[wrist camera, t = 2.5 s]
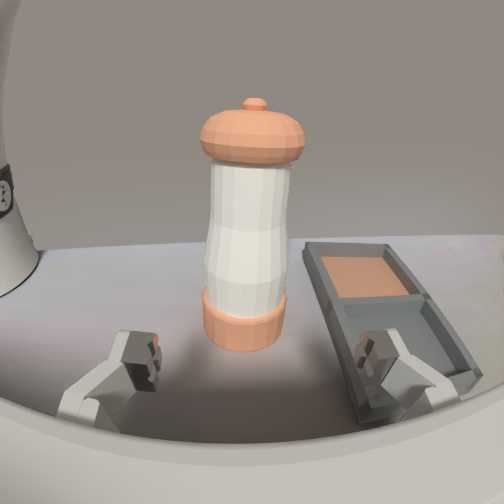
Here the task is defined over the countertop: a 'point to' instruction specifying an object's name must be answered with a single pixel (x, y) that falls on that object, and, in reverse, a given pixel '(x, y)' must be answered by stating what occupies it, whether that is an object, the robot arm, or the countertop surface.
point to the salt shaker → (248, 224)
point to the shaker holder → (382, 318)
